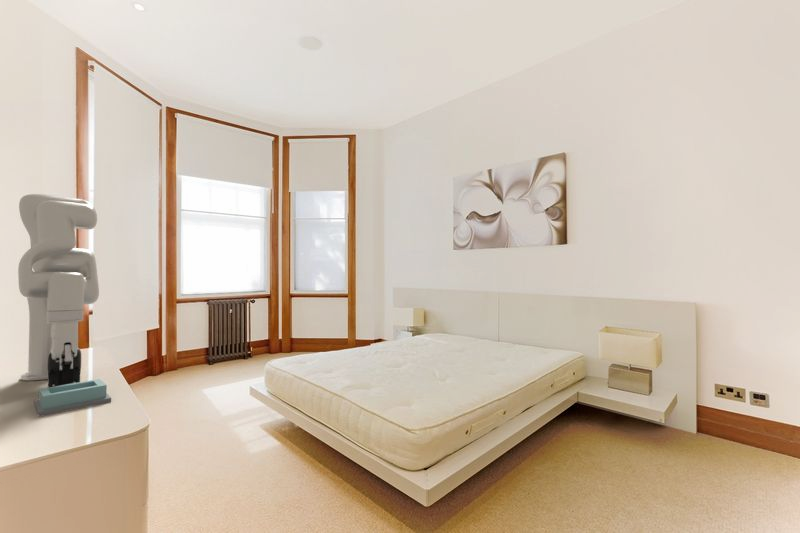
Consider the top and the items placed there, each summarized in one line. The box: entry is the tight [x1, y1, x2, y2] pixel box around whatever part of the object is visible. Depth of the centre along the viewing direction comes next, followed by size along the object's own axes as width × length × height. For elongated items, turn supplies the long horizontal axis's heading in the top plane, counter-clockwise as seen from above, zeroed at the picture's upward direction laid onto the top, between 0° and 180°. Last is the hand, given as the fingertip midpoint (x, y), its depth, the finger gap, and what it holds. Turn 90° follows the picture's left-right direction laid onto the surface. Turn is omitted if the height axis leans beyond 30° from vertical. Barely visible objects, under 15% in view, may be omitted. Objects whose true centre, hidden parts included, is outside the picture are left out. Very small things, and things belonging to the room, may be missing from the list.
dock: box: [33, 378, 112, 418], centre depth 91 cm, size 12×13×4 cm
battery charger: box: [47, 347, 82, 387], centre depth 102 cm, size 7×4×11 cm, turn 130°
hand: (64, 381), depth 102 cm, fingers closed on battery charger, 4 cm apart
